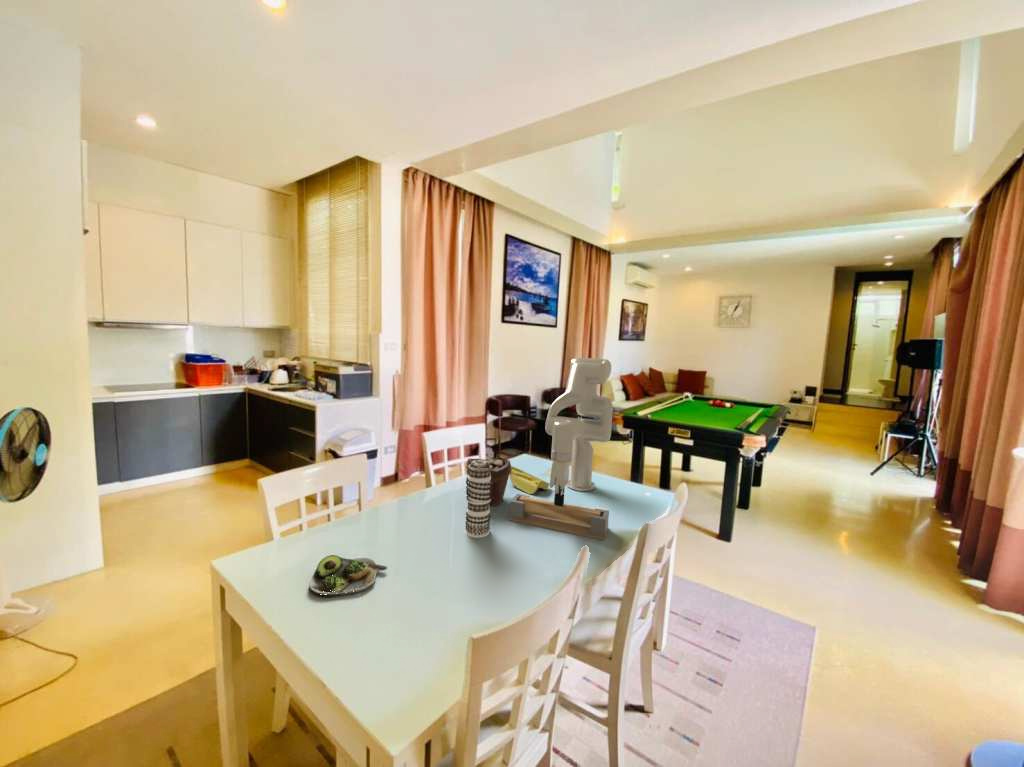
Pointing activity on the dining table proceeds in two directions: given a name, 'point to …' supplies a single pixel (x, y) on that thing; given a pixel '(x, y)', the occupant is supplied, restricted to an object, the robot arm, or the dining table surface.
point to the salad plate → (343, 575)
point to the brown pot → (496, 477)
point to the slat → (559, 510)
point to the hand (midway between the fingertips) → (558, 504)
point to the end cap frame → (560, 521)
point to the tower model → (478, 499)
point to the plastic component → (526, 481)
